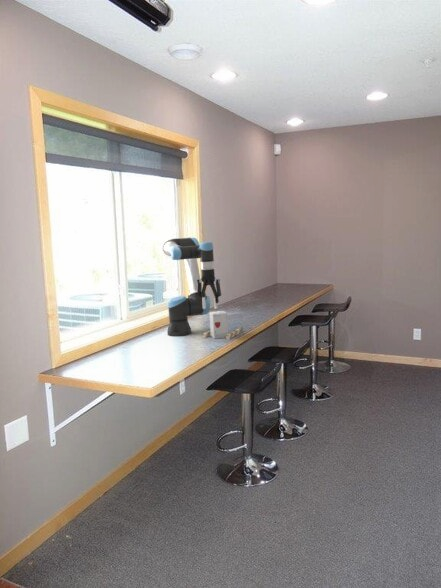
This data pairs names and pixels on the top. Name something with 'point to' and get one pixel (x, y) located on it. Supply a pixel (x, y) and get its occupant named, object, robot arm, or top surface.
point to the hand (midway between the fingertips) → (210, 308)
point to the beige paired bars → (227, 334)
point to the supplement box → (218, 324)
